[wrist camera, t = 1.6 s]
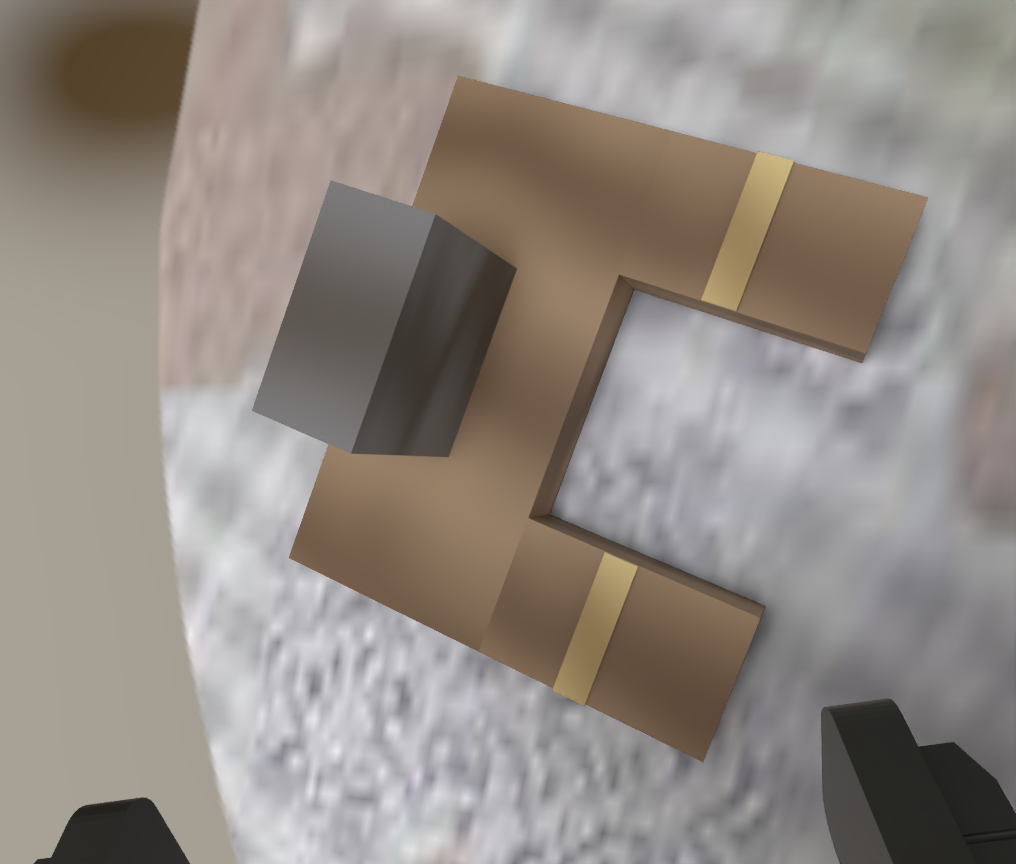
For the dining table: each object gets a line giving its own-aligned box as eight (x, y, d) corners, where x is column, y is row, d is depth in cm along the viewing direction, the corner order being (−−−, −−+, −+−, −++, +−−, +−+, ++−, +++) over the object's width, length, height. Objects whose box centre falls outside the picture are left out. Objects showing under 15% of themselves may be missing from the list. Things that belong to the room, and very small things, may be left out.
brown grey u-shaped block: (483, 103, 30) (364, -27, 22) (918, 220, 25) (964, 108, 17) (324, 552, 31) (158, 579, 23) (712, 739, 26) (668, 850, 19)
